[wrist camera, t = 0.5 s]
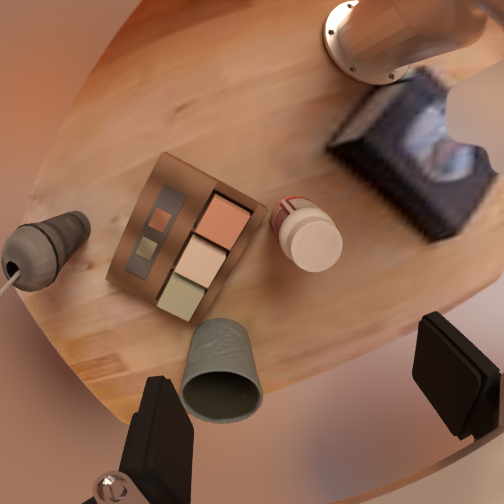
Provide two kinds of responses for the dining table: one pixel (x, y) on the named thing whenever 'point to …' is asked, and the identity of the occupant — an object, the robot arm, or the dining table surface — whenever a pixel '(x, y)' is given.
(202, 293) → the key sage
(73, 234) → the beverage cup
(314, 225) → the pill bottle
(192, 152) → the dining table surface
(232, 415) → the grey green cup
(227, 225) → the key terracotta
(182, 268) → the key cream
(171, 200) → the keypad board
